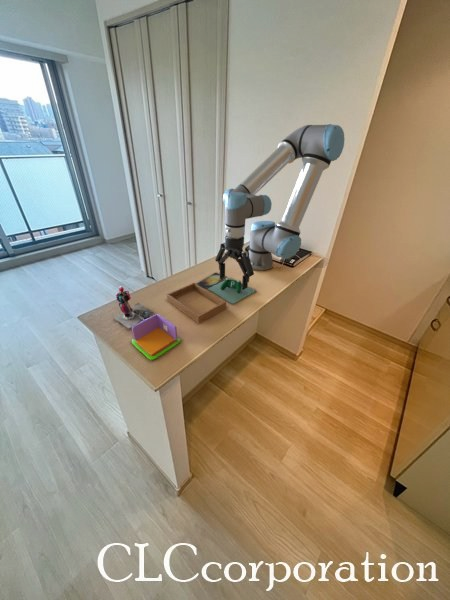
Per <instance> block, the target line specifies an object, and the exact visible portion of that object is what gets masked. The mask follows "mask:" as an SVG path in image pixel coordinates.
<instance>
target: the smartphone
mask: <svg viewBox="0 0 450 600" xmlns="http://www.w3.org/2000/svg"><path fill="white" fill-rule="evenodd" d="M226 278H227V276H226V275H225V276H224V277H222V278H220V273H218V272H214V273H212V274H211V275H209V276H207V277H205V278H203V279H202V280H200V281H199V282H197V283H196V284H197V285H199V286H201V287H202V288H204V289H206V290H207V291H208V288H210V287H212V286H214V285H216V284H219V283H221V282H223V281H225V279H226Z"/></svg>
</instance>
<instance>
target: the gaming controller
mask: <svg viewBox="0 0 450 600" xmlns="http://www.w3.org/2000/svg"><path fill="white" fill-rule="evenodd" d="M223 281H224V282H223ZM223 281H222V282H223V283H222V285H221V288H220V289H221V290H224V289H225V288H226V287H228V288H234V289H237V293H240V291H241V288H242V281H241V280H240V279H238V280H236V279H234V280H229V278H228V277H226V278H225V279H224V280H223Z"/></svg>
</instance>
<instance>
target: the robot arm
mask: <svg viewBox="0 0 450 600" xmlns="http://www.w3.org/2000/svg"><path fill="white" fill-rule="evenodd" d="M344 146H345V132H344V129H343V127H341V126H340V125H339V124H331V123H329V124H306V125H303V126H301V127H299V128H296V129H295V130H293V131H292V132H291V133H290V134H288V135H287V136H285V137H284V139H282V140H281V141H280V142H279V143H278V145H277V148H276V149H275V150H274V151H273V152H272V153H271V154H270V155H269V156H268V157H266V159H265V160H264V161H262V162H261V163H260V164H259V165H258V167H256V168H255V169H254V170H253V171H252V172H251V173H249V175H247V177H246V178H244V180H243V181H241V182H240V183H239V184H238V185H237V186H236V187H235V188H228V189H226V190H225V191H224V193H223V196H222V202H223V204H224V205H225V206H224V209H225V210H224V213H225V219H224V220H225V226H224V227H225V229H224V230H225V231H224V233H225V234H224V236H225V237H224V239H225V240H224V242H223V243H220V245H219V250H218V253H217V255H216V257H215V260H214V261H215V262H217V264H218V270H219V274H220V278H222V277H224V276H226V261H227V260H228V258H231V259H233V260H235V261H236V263H238V266H239V268H240V270H241V272H242V274H243V275H242V281H241V283H242V290H244V289H246V288H247V286H248V285H249V283H250V278H251V277H252V276H254V275H255V273H254V271H257V272H258V271H259V272H265V271H269V270H271V269H272V268H273V266H274V261H273V255H274V256H276V257H278V258H281V259H282V260H283V259H284V260H287V259H291V258H292V257H294V256H295V255H296V254H297V253H298V252H299V250H300V248H301V246H302V238H301V237H300V235H301V229H300V226H301V224H302V221H303V219H304V217H305V215H306V212H307V210H308V207H309V205H310V203H311V200H312V198H313V196H314V193H315V190H316V188H317V186H318V184H319V182H320V179H321V177H322V175H323V172H324V171H326V170H327V169H329V168H330V166H331V163H332V162H334V161H337V160H338V159H339V158H340V156H341V155H342V154H343V150H344ZM298 159H301V161H302V163H303V164H302V166H301V170H300V172H299V174H298V177H297V179H296V182H295V185H294V188H293V190H292V192H291V195H290V198H289V200H288V203H287V205H286V207H285V210H284V213H283V216H282V218H281V221H279V222H277V223H276V222H275V221H271V220H258V221H257V220H256V221H254V222H252V224H251V227H250V228H251V229H250V232H249V233H250V235H249V249H248V250H247V251H244V245H245V233H246V221H247V220H248V219H252V218H258V217H263V216H267V215H268V214H269V213H270V212H271V210H272V204H273V203H272V200H271V198H270V196H268V195H267V194H259V195H257V193H259V192H260V191H261V190H262V189H263V188H264V187H266V185H267V184H268V183H269V182H270V181H272V179H273V178H275V176H276V175H277V174H278V173H280V172H281V171H282V170H283V169H284V168H285V167H286V166H287V164H293V163H294V161H296V160H298ZM248 287H249V286H248Z"/></svg>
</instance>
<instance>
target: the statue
mask: <svg viewBox="0 0 450 600" xmlns="http://www.w3.org/2000/svg"><path fill="white" fill-rule="evenodd" d="M118 291H119V292H117V293H116V294H115V296H116V300H117V301H118V307H119V309H120V311H121V312H120V313H118V314H117V315H115V316H113V319H114V320H115V321H116V322H117V321H118V322H119V323H121V325H122V326H124V327H125V328H127V329H128V330H129V331H130V330H132V327H133V326H134V325H136V324H138V323H140V322H142V321H144V320H146V319H147V318H149V317H151V316H153V315H154V313H155V312H154V311H152V310H151V309H149V308H147V307H146V306H144V305H142V304H141V303H140V302H137V303H135V304H133V306H131V305H130V303H129V301H130V300H131V299H132V297H131V293H130V291H129V290H126V289H124V287H123V286H122V285H121V286H119V287H118Z"/></svg>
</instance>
